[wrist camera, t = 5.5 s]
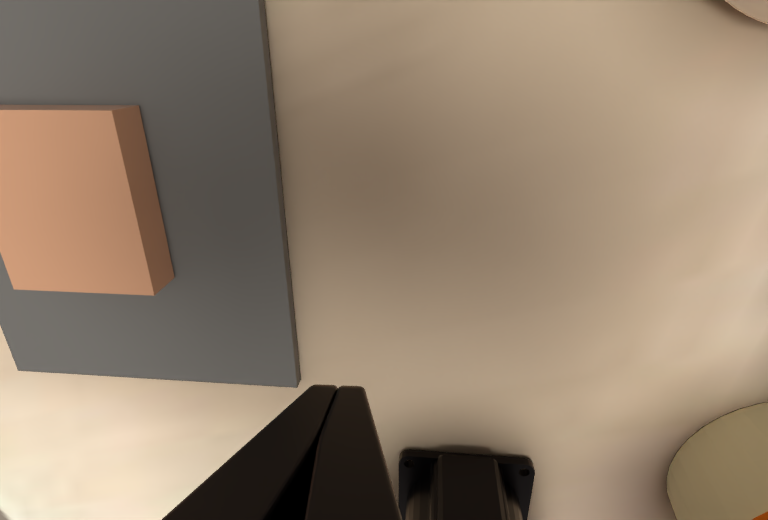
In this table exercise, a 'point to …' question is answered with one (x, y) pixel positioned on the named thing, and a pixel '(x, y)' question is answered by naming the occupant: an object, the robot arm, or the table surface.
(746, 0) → the mug
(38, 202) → the tile
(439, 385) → the table surface
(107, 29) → the mat
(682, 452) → the reusable coffee cup
